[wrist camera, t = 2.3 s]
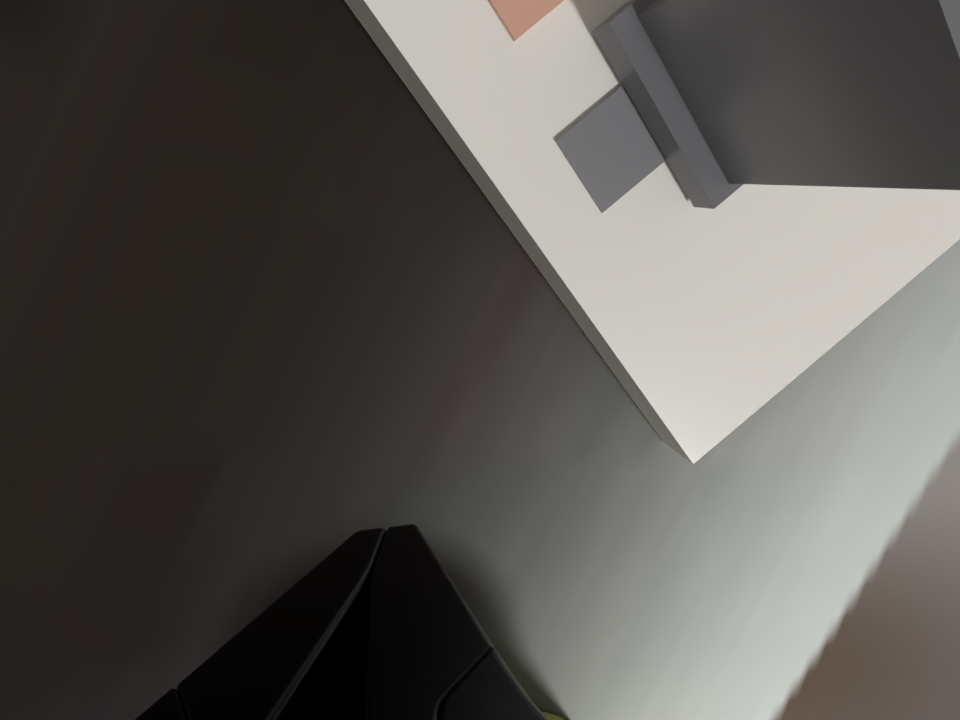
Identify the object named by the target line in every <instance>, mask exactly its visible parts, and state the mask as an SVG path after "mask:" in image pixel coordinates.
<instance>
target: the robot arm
mask: <svg viewBox="0 0 960 720" xmlns="http://www.w3.org/2000/svg"><path fill="white" fill-rule="evenodd" d="M177 690H178V691H177ZM177 690H176V689H171V690H169V691H168V692H167V693H166V694H165V695H164V696H162V697H161V698H160V699H159V700H158V701H157V702H155V703H154V704H153V705H152V706H151V707H150V708H148V709H147V710H146V711H145V712H144V713H142V714H141V715H140V716H139V717H138V718H136V719H135V720H548V719H547V718H546V717H545V716H544V714H543V713H542V712H541V711H540V710H539V709H538V707H537V706H536V705H535V704H534V703H533V701H532V700H531V699H530V698H529V696H528V695H527V693H526V692H525V690H524V689H523V688H522V686H521V685H520V683H519V682H518V681H517V679H516V678H515V676H514V675H513V674H512V672H511V671H510V669H509V668H508V666H507V665H506V663H505V662H504V660H503V658H502V657H501V655H500V654H499V652H498V651H496V649H495V647H494V646H493V644H492V643H491V641H490V639H489V638H488V636H487V635H486V633H485V632H484V630H483V629H482V627H481V625H480V624H479V622H478V621H477V619H476V618H475V616H474V614H473V613H472V611H471V610H470V608H469V607H468V605H467V603H466V602H465V600H464V599H463V597H462V596H461V594H460V593H459V591H458V589H457V588H456V586H455V585H454V583H453V582H452V580H451V578H450V577H449V575H448V574H447V572H446V571H445V569H444V567H443V566H442V564H441V563H440V561H439V560H438V558H437V557H436V555H435V553H434V552H433V550H432V549H431V547H430V546H429V544H428V542H427V541H426V539H425V538H424V536H423V535H422V533H421V531H420V530H419V528H418V527H417V526H416V525H414V524H411V525H403V526H395V527H390V528H389V529H388V530H387V531H386V530H385V529H383V528H378V529H369V530H360V531H358V532H356V533H355V534H353V535H352V536H351V537H350V538H349V539H348V540H346V541H345V542H344V543H343V544H342V545H341V546H339V547H338V548H337V549H336V550H335V551H333V552H332V553H331V554H330V555H329V556H328V557H326V558H325V559H324V560H323V561H322V562H321V563H319V564H318V565H317V566H316V567H315V568H314V569H312V570H311V571H310V572H309V573H308V574H307V575H305V576H304V577H303V578H302V579H301V580H300V581H298V582H297V583H296V584H295V585H294V586H293V587H291V588H290V589H289V590H288V591H287V592H286V593H284V594H283V595H282V596H281V597H280V598H279V599H277V600H276V601H275V602H274V603H273V604H272V605H270V606H269V607H268V608H267V609H266V610H265V611H263V612H262V613H261V614H260V615H259V616H258V617H256V618H255V619H254V620H253V621H252V622H251V623H249V624H248V625H247V626H246V627H245V628H244V629H242V630H241V631H240V632H239V633H238V634H237V635H235V636H234V637H233V638H232V639H231V640H230V641H228V642H227V643H226V644H225V645H224V646H223V647H221V648H220V649H219V650H218V651H217V652H216V653H214V654H213V655H212V656H211V657H210V658H209V659H207V660H206V661H205V662H204V663H203V664H202V665H200V666H199V667H198V668H197V669H196V670H195V671H193V672H192V673H191V674H190V675H189V676H187V677H186V678H185V679H184V680H183V681H182V682H180V683H179V684H178V686H177Z"/></svg>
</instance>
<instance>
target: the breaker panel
mask: <svg viewBox="0 0 960 720" xmlns="http://www.w3.org/2000/svg"><path fill="white" fill-rule="evenodd" d="M344 1H345V2H346V4H347V5H348V6H349V8H350V9H351V10H352V12H353V13H354V15H355V16H356V17H357V19H358V20H359V22H360V23H361V24H362V26H363V27H364V28H365V30H366V31H367V33H368V34H369V35H370V37H371V38H372V40H373V41H374V42H375V44H376V45H377V46H378V48H379V49H380V51H381V52H382V53H383V55H384V56H385V58H386V59H387V60H388V62H389V63H390V64H391V66H392V67H393V69H394V70H395V71H396V73H397V74H398V76H399V77H400V78H401V80H402V81H403V82H404V84H405V85H406V87H407V88H408V89H409V91H410V92H411V94H412V95H413V96H414V98H415V99H416V100H417V102H418V103H419V105H420V106H421V107H422V109H423V110H424V112H425V113H426V114H427V116H428V117H429V118H430V120H431V121H432V123H433V124H434V125H435V127H436V128H437V130H438V131H439V132H440V134H441V135H442V136H443V138H444V139H445V141H446V142H447V143H448V145H449V146H450V148H451V149H452V150H453V152H454V153H455V154H456V156H457V157H458V159H459V160H460V161H461V163H462V164H463V166H464V167H465V168H466V170H467V171H468V172H469V174H470V175H471V177H472V178H473V179H474V181H475V182H476V184H477V185H478V186H479V188H480V189H481V190H482V192H483V193H484V195H485V196H486V197H487V199H488V200H489V202H490V203H491V204H492V206H493V207H494V208H495V210H496V211H497V213H498V214H499V215H500V217H501V218H502V220H503V221H504V222H505V224H506V225H507V226H508V228H509V229H510V231H511V232H512V233H513V235H514V236H515V238H516V239H517V240H518V242H519V243H520V244H521V246H522V247H523V249H524V250H525V251H526V253H527V254H528V256H529V257H530V258H531V260H532V261H533V262H534V264H535V265H536V267H537V268H538V269H539V271H540V272H541V274H542V275H543V276H544V278H545V279H546V280H547V282H548V283H549V285H550V286H551V287H552V289H553V290H554V292H555V293H556V294H557V296H558V297H559V298H560V300H561V301H562V303H563V304H564V305H565V307H566V308H567V310H568V311H569V312H570V314H571V315H572V316H573V318H574V319H575V321H576V322H577V323H578V325H579V326H580V328H581V329H582V330H583V332H584V333H585V334H586V336H587V337H588V339H589V340H590V341H591V343H592V344H593V346H594V347H595V348H596V350H597V351H598V352H599V354H600V355H601V357H602V358H603V359H604V361H605V362H606V364H607V365H608V366H609V368H610V369H611V370H612V372H613V373H614V375H615V376H616V377H617V379H618V380H619V382H620V383H621V384H622V386H623V387H624V388H625V390H626V391H627V393H628V394H629V395H630V397H631V398H632V400H633V401H634V402H635V404H636V405H637V406H638V408H639V409H640V411H641V412H642V413H643V415H644V416H645V418H646V419H647V420H648V422H649V423H650V424H651V426H652V427H653V429H654V430H655V431H656V433H657V434H658V436H659V437H660V438H661V440H662V441H663V442H665V443H666V444H667V445H669V446H670V447H671V448H672V449H674V450H675V451H676V452H678V453H679V454H680V455H682V456H683V457H684V458H686V459H687V460H688V461H690V462H691V463H692V464H694V463H695V462H696V461H698V460H699V459H700V458H701V457H702V456H704V455H705V454H706V453H707V452H708V451H709V450H711V449H712V448H713V447H714V446H715V445H717V444H718V443H719V442H720V441H721V440H722V439H724V438H725V437H726V436H727V435H728V434H730V433H731V432H732V431H733V430H734V429H736V428H737V427H738V426H739V425H740V424H741V423H743V422H744V421H745V420H746V419H747V418H749V417H750V416H751V415H752V414H753V413H754V412H756V411H757V410H758V409H759V408H760V407H762V406H763V405H764V404H765V403H766V402H767V401H769V400H770V399H771V398H772V397H773V396H775V395H776V394H777V393H778V392H779V391H780V390H782V389H783V388H784V387H785V386H786V385H788V384H789V383H790V382H791V381H792V380H793V379H795V378H796V377H797V376H798V375H799V374H801V373H802V372H803V371H804V370H805V369H806V368H808V367H809V366H810V365H811V364H812V363H814V362H815V361H816V360H817V359H818V358H820V357H821V356H822V355H823V354H824V353H825V352H827V351H828V350H829V349H830V348H831V347H833V346H834V345H835V344H836V343H837V342H838V341H840V340H841V339H842V338H843V337H844V336H846V335H847V334H848V333H849V332H850V331H851V330H853V329H854V328H855V327H856V326H857V325H859V324H860V323H861V322H862V321H863V320H864V319H866V318H867V317H868V316H869V315H870V314H872V313H873V312H874V311H875V310H876V309H877V308H879V307H880V306H881V305H882V304H883V303H885V302H886V301H887V300H888V299H889V298H891V297H892V296H893V295H894V294H895V293H896V292H898V291H899V290H900V289H901V288H902V287H904V286H905V285H906V284H907V283H908V282H909V281H911V280H912V279H913V278H914V277H915V276H917V275H918V274H919V273H920V272H921V271H922V270H924V269H925V268H926V267H927V266H928V265H930V264H931V263H932V262H933V261H934V260H935V259H937V258H938V257H939V256H940V255H941V254H943V253H944V252H945V251H946V250H947V249H948V248H950V247H951V246H952V245H953V244H954V243H956V242H957V241H958V240H959V239H960V190H936V189H900V188H865V187H829V186H794V185H758V184H743V185H742V186H741V187H740V188H739V189H737V190H736V191H735V192H734V193H733V194H731V195H730V196H729V197H728V198H727V199H725V200H724V201H723V202H722V203H721V204H719V205H718V206H717V207H716V208H715V209H710V208H699V207H694V206H693V205H692V203H691V201H690V200H689V198H688V196H687V194H686V193H685V191H684V189H683V187H682V186H681V184H680V182H679V181H678V179H677V177H676V175H675V174H674V172H673V170H672V168H671V167H670V165H669V163H668V162H667V160H666V158H665V156H664V155H663V153H662V151H661V149H660V148H659V146H658V144H657V143H656V141H655V139H654V137H653V136H652V134H651V132H650V131H649V129H648V127H647V125H646V124H645V122H644V120H643V118H642V117H641V115H640V113H639V112H638V110H637V108H636V106H635V105H634V103H633V101H632V99H631V98H630V96H629V94H628V93H627V91H626V89H625V87H624V86H623V84H622V82H621V81H620V79H619V77H618V75H617V74H616V72H615V70H614V68H613V67H612V65H611V63H610V62H609V60H608V58H607V56H606V55H605V53H604V51H603V49H602V48H601V46H600V44H599V43H598V41H597V39H596V37H595V36H594V34H593V32H592V30H594V29H595V28H596V27H597V26H599V25H600V24H601V23H602V22H603V21H605V20H606V19H607V18H608V17H609V16H611V15H612V14H613V13H614V12H615V11H617V10H618V9H619V8H620V7H622V6H623V5H624V4H625V3H626V2H628V1H629V0H344Z"/></svg>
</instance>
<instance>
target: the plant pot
mask: <svg viewBox="0 0 960 720" xmlns="http://www.w3.org/2000/svg"><path fill="white" fill-rule="evenodd" d="M542 713H543V714H544V716H545V717H546V718H547V719H548V720H564V719H563V718H561V717H559V716H557V715H554V714H550V713H547V712H542Z"/></svg>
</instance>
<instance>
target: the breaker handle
mask: <svg viewBox="0 0 960 720" xmlns="http://www.w3.org/2000/svg"><path fill="white" fill-rule="evenodd" d="M592 32H593V34H594V36H595V37H596V39H597V41H598V43H599V44H600V46H601V48H602V49H603V51H604V53H605V55H606V56H607V58H608V60H609V62H610V63H611V65H612V67H613V68H614V70H615V72H616V74H617V75H618V77H619V79H620V81H621V82H622V84H623V86H624V87H625V89H626V91H627V93H628V94H629V96H630V98H631V99H632V101H633V103H634V105H635V106H636V108H637V110H638V112H639V113H640V115H641V117H642V118H643V120H644V122H645V124H646V125H647V127H648V129H649V131H650V132H651V134H652V136H653V137H654V139H655V141H656V143H657V144H658V146H659V148H660V149H661V151H662V153H663V155H664V156H665V158H666V160H667V162H668V163H669V165H670V167H671V168H672V170H673V172H674V174H675V175H676V177H677V179H678V181H679V182H680V184H681V186H682V187H683V189H684V191H685V193H686V194H687V196H688V198H689V200H690V201H691V203H692V205H693V206H694V207H699V208H710V209H715V208H716V207H717V206H718V205H719V204H721V203H722V202H723V201H724V200H725V199H727V198H728V197H729V196H730V195H731V194H733V193H734V192H735V191H736V190H737V189H739V188H740V187H741V186H742V185H743V184H758V185H794V186H829V187H865V188H900V189H936V190H960V0H629V1H628V2H626V3H625V4H624V5H623V6H622V7H620V8H619V9H618V10H617V11H615V12H614V13H613V14H612V15H611V16H609V17H608V18H607V19H606V20H605V21H603V22H602V23H601V24H600V25H599V26H597V27H596V28H595V29H594V30H592Z"/></svg>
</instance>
